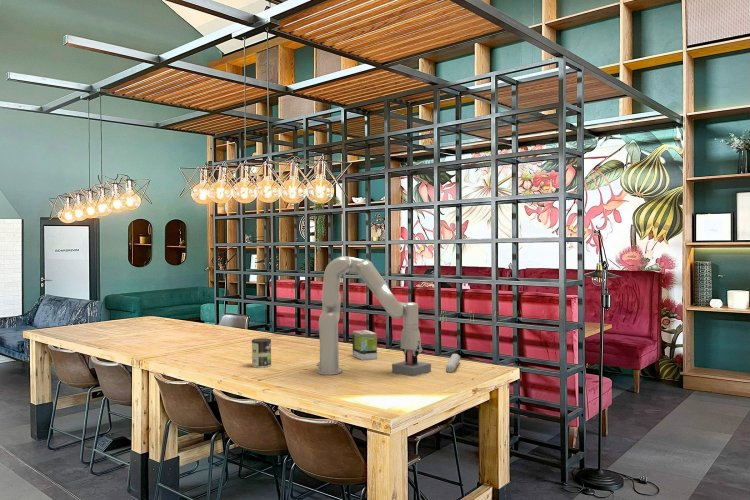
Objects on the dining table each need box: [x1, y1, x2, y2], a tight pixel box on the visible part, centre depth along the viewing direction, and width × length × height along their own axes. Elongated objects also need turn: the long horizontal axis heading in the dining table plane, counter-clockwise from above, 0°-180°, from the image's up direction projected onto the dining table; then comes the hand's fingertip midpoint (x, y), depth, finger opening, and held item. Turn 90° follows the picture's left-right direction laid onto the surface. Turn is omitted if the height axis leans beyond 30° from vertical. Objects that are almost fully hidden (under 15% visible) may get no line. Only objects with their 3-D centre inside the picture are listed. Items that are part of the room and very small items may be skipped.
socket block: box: [391, 360, 432, 377], centre depth 293 cm, size 14×14×4 cm
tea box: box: [351, 329, 378, 361], centre depth 331 cm, size 15×10×15 cm
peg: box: [407, 350, 415, 365], centre depth 293 cm, size 4×4×12 cm
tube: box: [445, 353, 461, 373], centre depth 301 cm, size 5×5×25 cm
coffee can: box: [251, 337, 272, 369], centre depth 311 cm, size 10×10×14 cm
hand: (411, 362), depth 293 cm, fingers closed on peg, 4 cm apart
